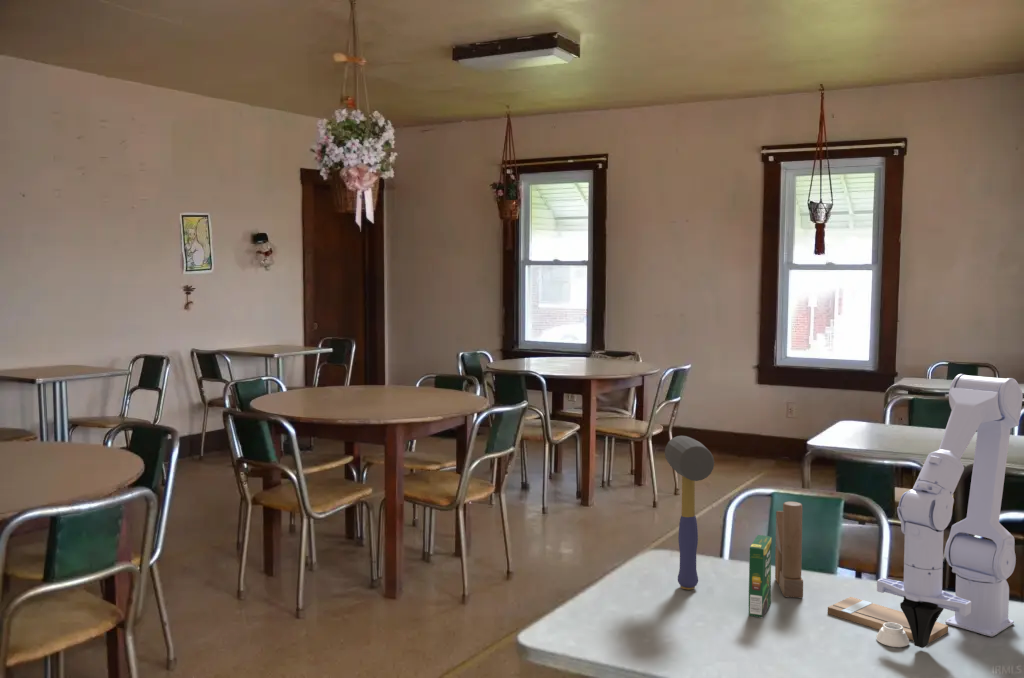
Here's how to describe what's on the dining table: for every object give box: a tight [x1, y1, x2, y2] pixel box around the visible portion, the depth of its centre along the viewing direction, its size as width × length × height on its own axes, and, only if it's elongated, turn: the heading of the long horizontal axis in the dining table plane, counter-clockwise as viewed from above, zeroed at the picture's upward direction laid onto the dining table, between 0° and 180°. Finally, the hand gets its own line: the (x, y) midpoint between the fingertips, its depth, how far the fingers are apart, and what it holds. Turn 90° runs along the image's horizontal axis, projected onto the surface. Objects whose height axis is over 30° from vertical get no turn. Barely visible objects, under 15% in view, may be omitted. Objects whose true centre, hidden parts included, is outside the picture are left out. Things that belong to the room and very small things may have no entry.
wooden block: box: [774, 501, 804, 599], centre depth 171 cm, size 4×11×18 cm, turn 172°
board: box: [827, 596, 949, 645], centre depth 154 cm, size 8×18×1 cm, turn 40°
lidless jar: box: [875, 622, 910, 648], centre depth 146 cm, size 5×3×5 cm
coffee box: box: [748, 534, 773, 619], centre depth 160 cm, size 8×3×13 cm, turn 153°
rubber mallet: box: [664, 435, 715, 591], centre depth 171 cm, size 12×8×30 cm, turn 4°
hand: (921, 645), depth 142 cm, fingers closed
